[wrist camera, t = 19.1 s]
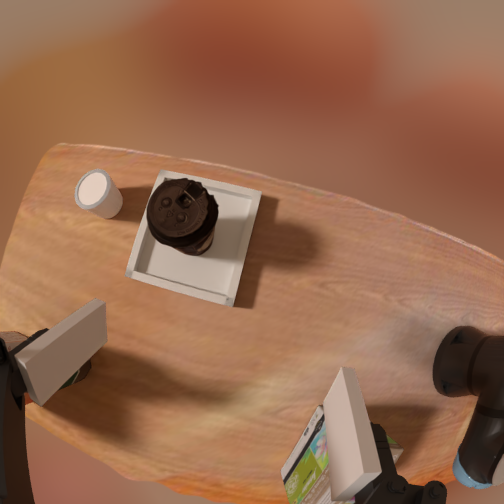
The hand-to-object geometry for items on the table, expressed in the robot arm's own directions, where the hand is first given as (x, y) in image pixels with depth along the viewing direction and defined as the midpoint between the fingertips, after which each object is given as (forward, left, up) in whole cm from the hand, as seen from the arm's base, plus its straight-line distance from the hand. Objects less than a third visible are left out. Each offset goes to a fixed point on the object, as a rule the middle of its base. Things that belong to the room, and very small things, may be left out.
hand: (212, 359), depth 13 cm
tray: (+8, -12, -28) cm, 31 cm away
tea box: (-21, +18, -28) cm, 39 cm away
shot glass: (+25, -14, -28) cm, 40 cm away
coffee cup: (+8, -12, -27) cm, 30 cm away
